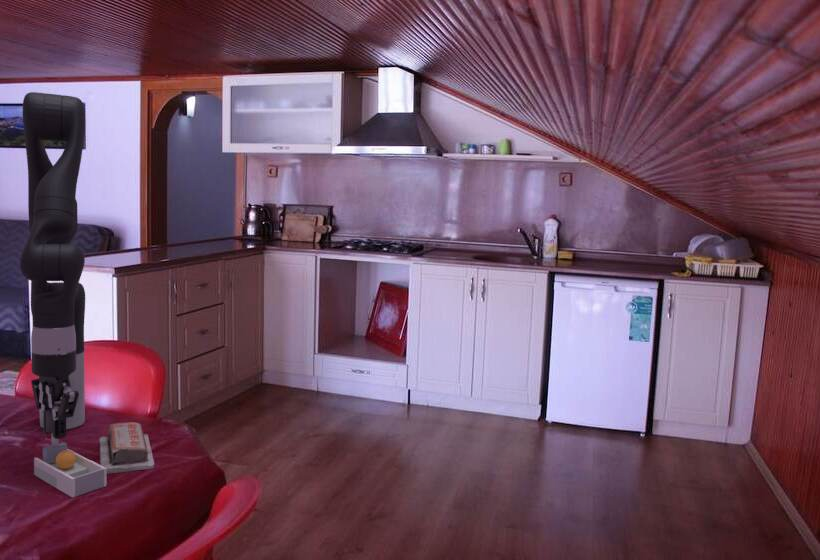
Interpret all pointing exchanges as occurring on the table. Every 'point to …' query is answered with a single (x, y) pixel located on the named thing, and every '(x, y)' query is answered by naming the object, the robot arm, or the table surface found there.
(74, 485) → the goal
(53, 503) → the table surface
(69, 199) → the robot arm
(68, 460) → the ball
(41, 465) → the tray
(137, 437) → the packaged product
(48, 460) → the striker
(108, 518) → the table surface
